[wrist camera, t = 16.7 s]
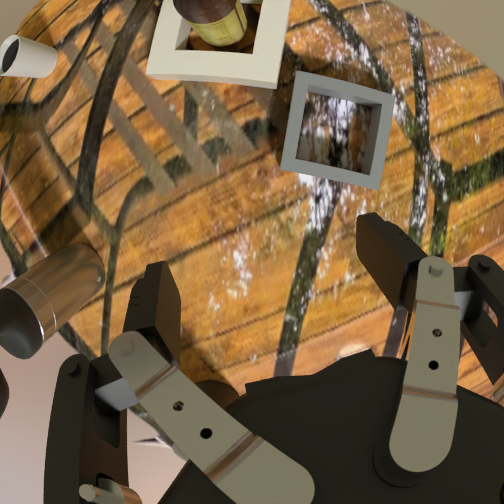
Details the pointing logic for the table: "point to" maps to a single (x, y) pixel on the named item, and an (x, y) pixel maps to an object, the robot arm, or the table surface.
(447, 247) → the table surface
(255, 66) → the socket collar
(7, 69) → the white coffee cup
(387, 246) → the robot arm
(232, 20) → the sauce bottle
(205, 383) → the pillar candle
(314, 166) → the frame
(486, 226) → the table surface
